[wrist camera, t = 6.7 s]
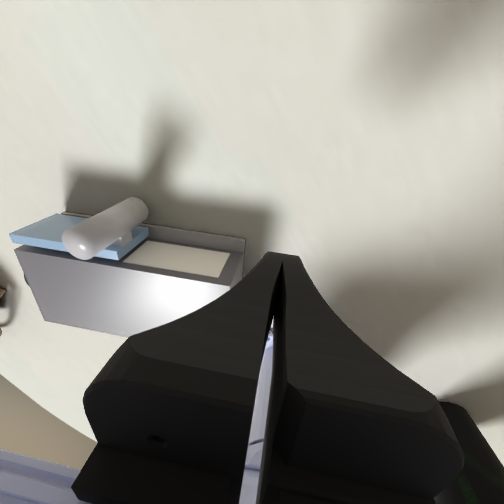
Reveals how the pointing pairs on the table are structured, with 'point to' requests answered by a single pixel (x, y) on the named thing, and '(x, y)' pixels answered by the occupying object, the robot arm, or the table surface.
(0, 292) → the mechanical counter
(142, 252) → the housing
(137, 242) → the door
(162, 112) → the table surface
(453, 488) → the cup
